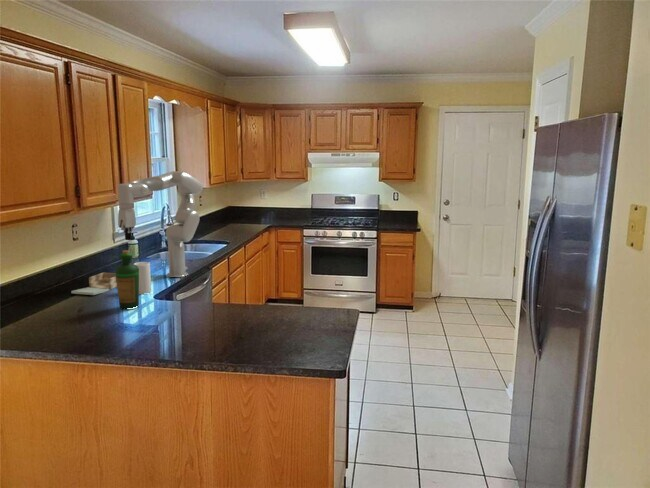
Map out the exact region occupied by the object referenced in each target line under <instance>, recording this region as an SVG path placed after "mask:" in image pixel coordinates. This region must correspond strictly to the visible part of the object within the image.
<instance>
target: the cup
mask: <svg viewBox="0 0 650 488" xmlns="http://www.w3.org/2000/svg"><path fill="white" fill-rule="evenodd" d="M133 264H134V265H136V266H137V267H138V268H139V294H143V295H145V294H144V293H149V292H151V293H152V280H151V278H152V277H151V262H148V261H138V262H135V263H133ZM149 294H150V293H149Z"/></svg>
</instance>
